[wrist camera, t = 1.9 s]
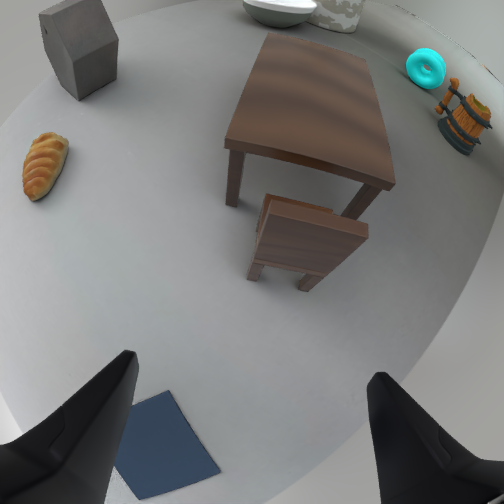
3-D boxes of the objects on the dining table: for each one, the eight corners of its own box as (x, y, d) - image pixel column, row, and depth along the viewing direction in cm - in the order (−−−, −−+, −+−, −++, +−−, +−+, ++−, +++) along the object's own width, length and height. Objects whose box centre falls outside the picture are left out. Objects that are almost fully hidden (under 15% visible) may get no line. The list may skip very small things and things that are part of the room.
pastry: (60, 197, 27) (46, 178, 23) (20, 208, 26) (5, 193, 22) (72, 142, 30) (63, 123, 27) (35, 154, 29) (24, 138, 25)
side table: (348, 236, 29) (396, 184, 20) (220, 207, 29) (224, 137, 19) (343, 107, 39) (365, 59, 30) (258, 85, 38) (268, 32, 29)
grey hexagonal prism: (132, 67, 31) (89, -29, 17) (86, 92, 28) (42, -9, 14) (105, 87, 42) (70, 12, 28) (72, 107, 39) (36, 30, 25)
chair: (308, 292, 26) (368, 238, 15) (246, 279, 26) (268, 213, 15) (313, 236, 29) (364, 162, 18) (257, 223, 28) (281, 138, 17)
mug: (474, 146, 43) (501, 114, 33) (468, 163, 40) (500, 127, 29) (432, 106, 46) (455, 72, 35) (421, 118, 42) (448, 77, 32)
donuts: (436, 88, 52) (452, 63, 43) (432, 97, 48) (450, 69, 39) (406, 66, 53) (420, 40, 44) (398, 74, 50) (414, 44, 41)
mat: (220, 471, 19) (220, 472, 18) (139, 499, 16) (138, 500, 16) (168, 390, 21) (168, 390, 21) (89, 422, 19) (88, 422, 18)
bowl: (283, 12, 58) (288, -10, 50) (324, 35, 52) (332, 10, 45) (225, 14, 52) (228, -11, 45) (261, 36, 47) (267, 5, 40)
